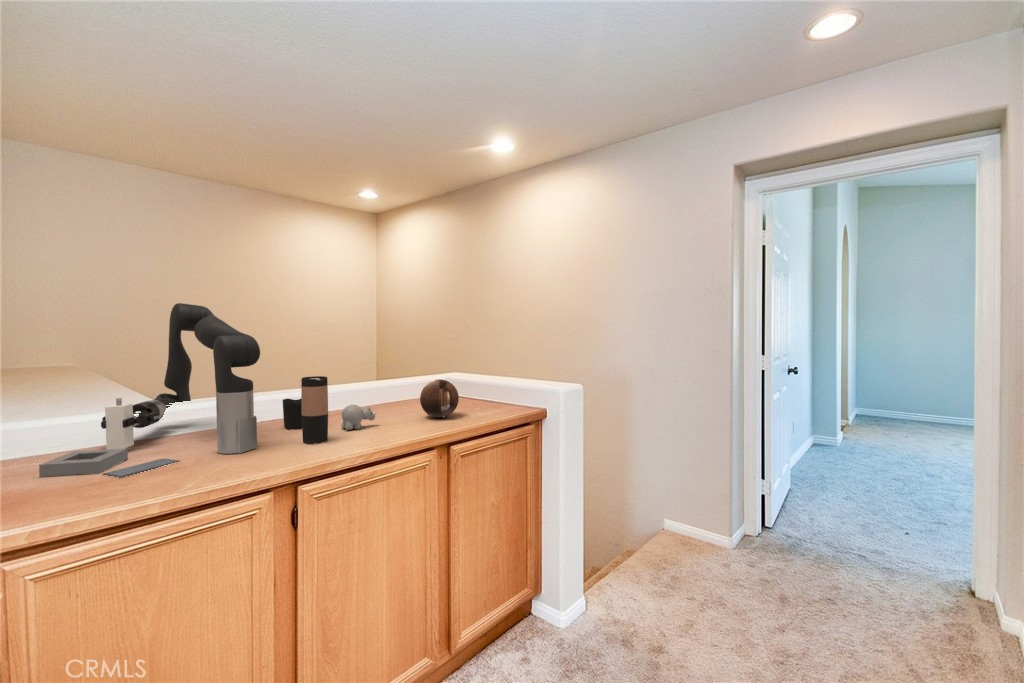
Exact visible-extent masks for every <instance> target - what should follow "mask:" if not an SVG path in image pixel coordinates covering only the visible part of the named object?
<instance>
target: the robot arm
mask: <svg viewBox="0 0 1024 683" xmlns="http://www.w3.org/2000/svg"><path fill="white" fill-rule="evenodd" d="M169 314H170V316H169V327H168V358H167V366H166V370H165V376H164V383H163V384H164V387H165V388H167V389H168V390H171V391H173V392H175V394H172V393H167V392H165V393H160V394H158V395H157V396H156V397H155V398H154V399H152V400H145V401H142V402H139V403H135V404H133V417H132V418H128V419H125V420H123V428H127V427H130V426H132V425H133V428H136V429H143V428H146V427H149V426H151V425H154V424H157V423H158V422H160V421H161V420H160V419H161V418H162V417H163V415H164V412H165V410H166V408H168V407H170V406H166V405H172V404H169V403H175V402H183V401H191V402H192V399H191V393H190V380H191V376H192V375H191V374H192V366H193V365H192V361H191V358H190V356H189V354H188V353H187V351H186V349H185V346H184V345H183V341H182V331H183V332H185V331H186V332H194V337H195V338H196V339H197V341H198V342H199V343H200V344H202V345H203V346H204V347H206V348H208V349H209V350H212V353H213V356H212V357H213V364H214V365H213V366H214V380H215V381H214V382H215V396H216V397H215V398H216V399H215V400H216V403H215V406H216V442H217V443H216V445H217V448H216V449H217V450H216V451H217V453H218V454H224V455H229V454H230V455H231V454H243V453H245V452H249V451H252V450H255V449H258V433H257V432H258V426H257V425H258V424H257V422H258V419H257V416H256V415H254V414H255V411H254V410H255V408H254V406H255V405H254V404H255V403H254V382H253V380H251V379H249V378H244V377H240V376H238V375H236V374H234V373H233V371H232V368H246V367H251V366H253V365H256V363H258V361H259V359H260V356H261V349H260V348H261V347H260V345H259V343H258V341H257V340H256V338H254V336H251V335H249V334H246V333H244V332H241V331H239V330H237V329H236V328H234V327H233V326H231V325H229V324H228V323H226V322H225V321H224V320H222V319H220V318H219V317H218V316H215V314H214V313H213V312H212V311H211V310H210V309H209V308H208V307H206V306H204V305H197V304H192V303H191V304H189V303H181V302H180V303H175V304H174V305H173V306H172V308H171V310H170V313H169ZM101 418H102V419H101V420H102V421H101V422H100V426H101V428H102V429H105V430H106V419H105V416H103V417H101ZM159 420H160V421H159Z"/></svg>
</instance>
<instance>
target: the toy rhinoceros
mask: <svg viewBox="0 0 1024 683" xmlns="http://www.w3.org/2000/svg"><path fill="white" fill-rule="evenodd" d="M376 415H377V411H376V410H374V411H372V409H371V407H370V406H369V407H368V405H366V406H365V407H364V408H362V407H361V406H359V405H357V404H349V405H347V406H345V408H344V409H343V410H342V411H341V419H342V423H341V429H343V428H345V429H344V430H345V431H346V430H347V431H350V430H360V428H361V429H362V423H361V422H362V421H363V420H367V421H374V420H375V418H376ZM353 427H354V428H353Z"/></svg>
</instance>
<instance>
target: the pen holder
mask: <svg viewBox="0 0 1024 683" xmlns="http://www.w3.org/2000/svg"><path fill="white" fill-rule="evenodd" d="M282 413H283V414H282V416H283V427H284V429H285V428H286V430H291V429H294V430H302V429H301V428H302V403H301V398H299V399H292V398H284V399H282Z"/></svg>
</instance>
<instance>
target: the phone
mask: <svg viewBox="0 0 1024 683" xmlns="http://www.w3.org/2000/svg"><path fill="white" fill-rule="evenodd" d="M179 461H180V460H178V459H172V460H171V458H164V459H163V458H158V459H155V460H152V461H147V462H144V463H140V464H136V465H132V466H128V467H124V468H119V469H116V470H112V471H107V472H102V474H103V475H108V476H107V477H109V476H114V477H119V478H118V479H120V478H121V477H125V476H128V477H130V476H129V475H132V476H134V475H133V474H136V475H138V474H137V473H139V474H141V473H140V472H143V473H145V472H144V471H147V472H149V471H148V470H150V471H152V470H151V469H154V470H156V469H155V468H158V467H161V466H164V465H168V464H171V463H175V462H179ZM161 468H162V467H161ZM158 469H159V468H158ZM103 475H102V476H103ZM114 477H113V478H114ZM125 478H126V477H125ZM121 479H122V478H121Z"/></svg>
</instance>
